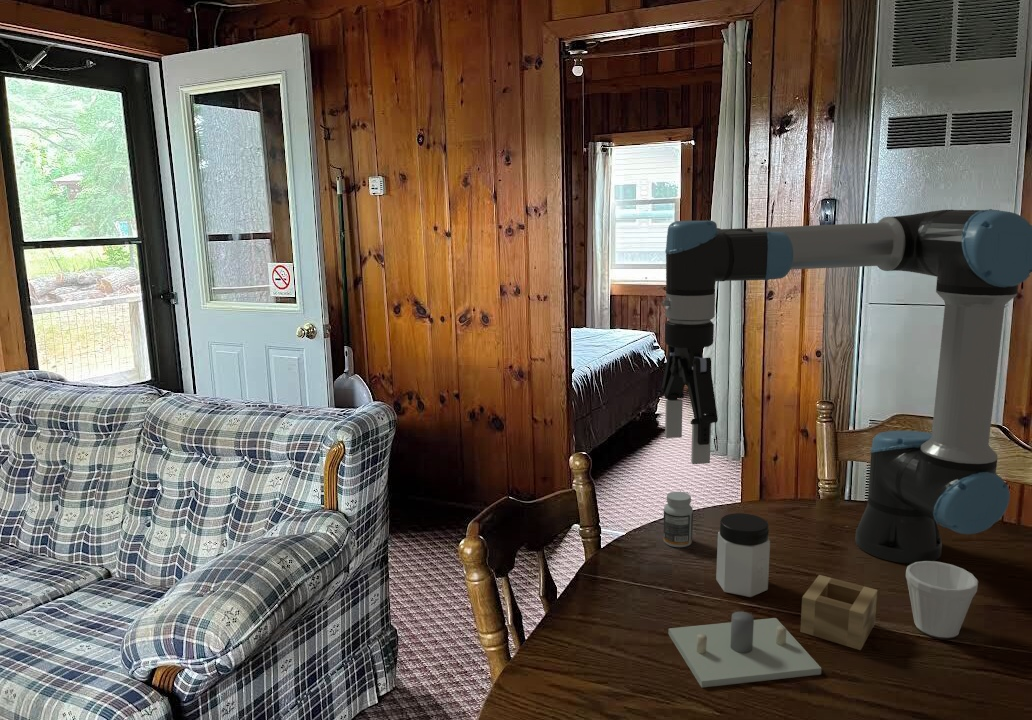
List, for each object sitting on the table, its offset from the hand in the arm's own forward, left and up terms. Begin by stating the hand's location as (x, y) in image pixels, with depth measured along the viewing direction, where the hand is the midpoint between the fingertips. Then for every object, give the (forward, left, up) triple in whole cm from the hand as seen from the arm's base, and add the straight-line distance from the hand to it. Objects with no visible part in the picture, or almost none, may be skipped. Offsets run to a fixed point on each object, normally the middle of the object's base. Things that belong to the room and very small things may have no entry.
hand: (686, 449), depth 127 cm
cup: (-37, +14, -28) cm, 48 cm away
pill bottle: (-8, -24, -28) cm, 37 cm away
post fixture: (-4, +15, -28) cm, 32 cm away
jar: (-13, -5, -28) cm, 31 cm away
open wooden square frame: (-22, +11, -28) cm, 37 cm away
